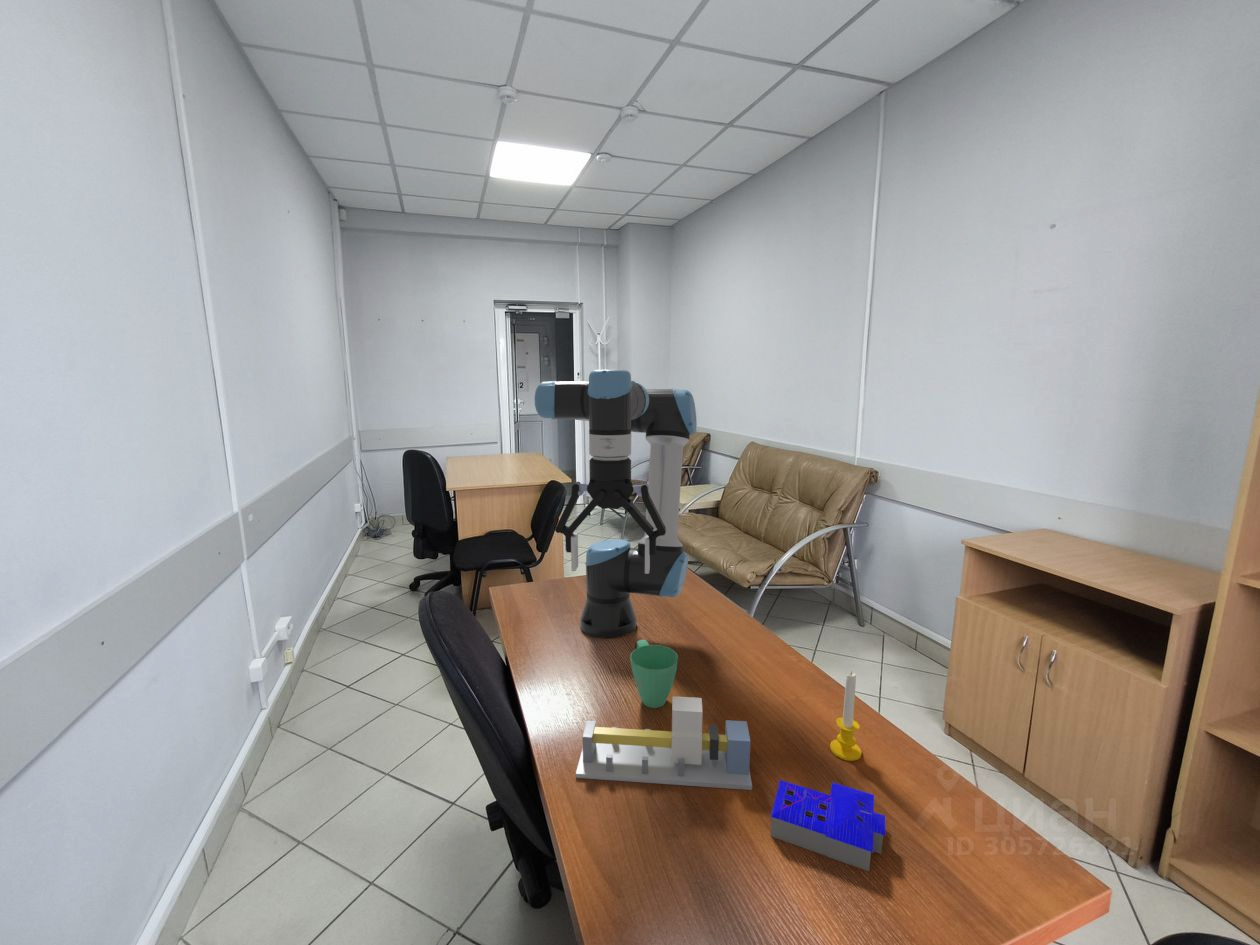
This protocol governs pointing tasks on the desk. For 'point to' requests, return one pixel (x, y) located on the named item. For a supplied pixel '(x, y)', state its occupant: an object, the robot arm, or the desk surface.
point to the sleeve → (687, 730)
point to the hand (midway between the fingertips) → (610, 570)
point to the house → (829, 822)
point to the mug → (653, 672)
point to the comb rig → (666, 757)
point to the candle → (847, 725)
